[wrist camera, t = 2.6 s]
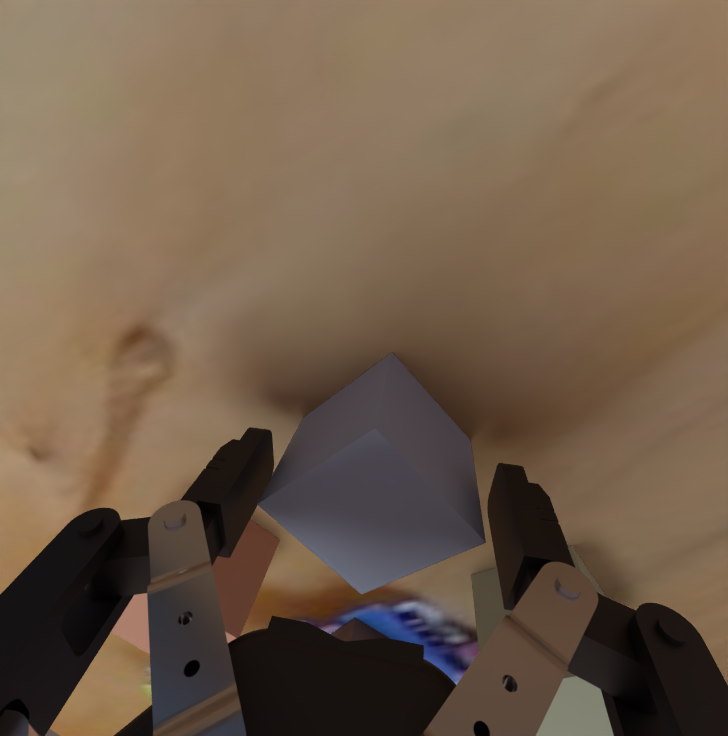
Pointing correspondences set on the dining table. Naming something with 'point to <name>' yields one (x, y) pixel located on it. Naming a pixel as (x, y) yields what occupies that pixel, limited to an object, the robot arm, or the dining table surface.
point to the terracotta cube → (233, 585)
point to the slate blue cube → (378, 481)
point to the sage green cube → (575, 696)
